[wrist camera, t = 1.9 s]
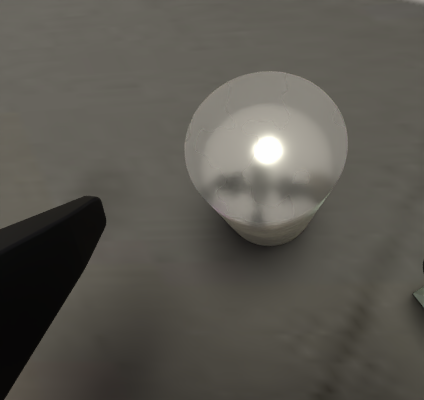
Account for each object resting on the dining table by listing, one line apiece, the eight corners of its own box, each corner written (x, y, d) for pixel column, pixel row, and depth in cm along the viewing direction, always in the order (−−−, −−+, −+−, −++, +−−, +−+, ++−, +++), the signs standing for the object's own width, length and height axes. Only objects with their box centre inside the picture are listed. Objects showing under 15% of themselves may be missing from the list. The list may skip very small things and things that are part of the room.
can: (332, 212, 18) (385, 157, 9) (257, 263, 18) (240, 256, 10) (278, 144, 20) (281, 43, 11) (209, 192, 20) (157, 129, 11)
